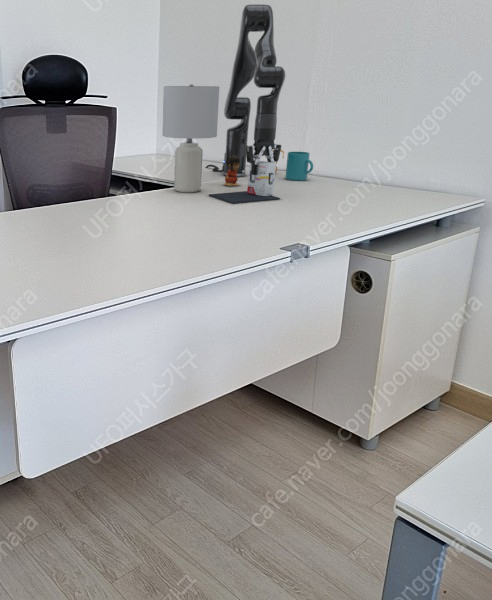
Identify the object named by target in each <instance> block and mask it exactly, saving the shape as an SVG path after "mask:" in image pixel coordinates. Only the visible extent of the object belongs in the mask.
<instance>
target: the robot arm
mask: <svg viewBox="0 0 492 600" xmlns="http://www.w3.org/2000/svg"><path fill="white" fill-rule="evenodd" d="M239 26H240V27H239V33H238V42H237V47H236V51H235V57H234V61H233V65H232V72H231V79H230V84H229V89H228V92H227V96H226V100H225V103H224V109H223V110H224V111H223V112H224V117H225V119H227V120H237V121H238V120H239V121H240V122H239V123H238V124H236V125H234V126H232V127H228V128H227V129H226V138H225V152H224V159H223V162H222V167H221V168H222V169H221V170H220V168H219V167H218V166H217V165H214V164H207V165H206V166H205V169H208V168H210V167H211V168H212V171H213V172H215V173H223V176H226V175H227V172H228V171H229V169H230V167H229V166H228V165H227V164H226V160H227V157H229V156H233V155H235V156H238V157H239V159H240V161H241V163H240V165H239V168H238V170H236V171H237V178H238V177H239V178H240V177H245V176H246V171H247V170H246V165H247V163H249V164H250V163H251V173H252V175H257V167H258V165H257V163H258V161H260V160H261V158H262V157H263V156H264V157H265V159H266V162H271V163H276V161H277V162H279V159H280V155H281V151H280V150H282V144H279V143H278V144H277V143H276V144H275V140H276V134H277V125H278V124H277V121H278V115H277V113H278V105H279V104H278V102H279V98H280V94H281V91H282V89H283V85H284V83H285V80H286V71H285V69H284V67H283V66H277V62H278V61H277V60H278V59H277V53H276V49H275V41H274V39H275V38H274V37H275V35H274V33H275V32H274V31H275V30H274V29H275V27H274V11H273V8H272V6H271V5H269V4H265V3H264V4H259V3H258V4H257V3H256V4H252V3H251V4H246V5H245V6H244V7H243V9H242V12H241V19H240V25H239ZM262 32H263V34H262V35H261V36H260V38H259V39H258V41H257V42H256V44H255V47H254V48H253V45H252V43H251V41H250V37H249V34H250V33H262ZM252 80H253V83H254V85H255V86H256V87H257V88H260V89H272V90H271V91H270V92H269V93H267V94H263V95H260V96H258V97H257V101H256V114H255V118H254V128H253V130H254V131H253V141H254V142H253V144H252V145H248V139H249V126H250V119H251V118H250V116H251V109H252V103H251V102H252V101H251V99H250V98H249V97H248V96H239V95H240V93H241V92H242V91H243V90H244V89H245V88H246V87H247V86H248V85H249V84H250V83H251V81H252ZM273 150H274V151H273ZM272 151H273V152H272Z"/></svg>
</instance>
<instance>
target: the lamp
mask: <svg viewBox="0 0 492 600" xmlns="http://www.w3.org/2000/svg"><path fill="white" fill-rule="evenodd" d="M162 92H163V94H162V97H163V98H162V99H163V100H162V137H164V138H170V139H186V140H185V142H180V143H179V146H177V147H176V148H175V151H174V178H173V179H174V181H173V186H174V190H175V191H177V192H179V193H197V192H199V191H200V190H201V188H202V177H203V176H202V175H203V174H202V173H203V155H204V152H203V149H202V148H201V146H199V143H198V142H193V139H212V138H213V139H214V138H217V136H218V122H219V121H218V119H219V103H220V102H219V101H220V86H218V85H217V86H215V85H214V86H213V85H212V86H211V85H194V84H192V83H191V84H189V85H163V91H162Z"/></svg>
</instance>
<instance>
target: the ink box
mask: <svg viewBox="0 0 492 600" xmlns="http://www.w3.org/2000/svg"><path fill="white" fill-rule="evenodd" d="M275 163H276V162H274V163H271V162H268V161H264V160H259V161H258V163H257V165H258V167H257V175H252V173H251V163H249V170H248V180H247V190H246V191H247V193H249V194H255V195H260V196H271V195H272V196H274V195H273V194H274V186H275V177H276V173H275V169H276V166H277V164H275Z"/></svg>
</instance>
